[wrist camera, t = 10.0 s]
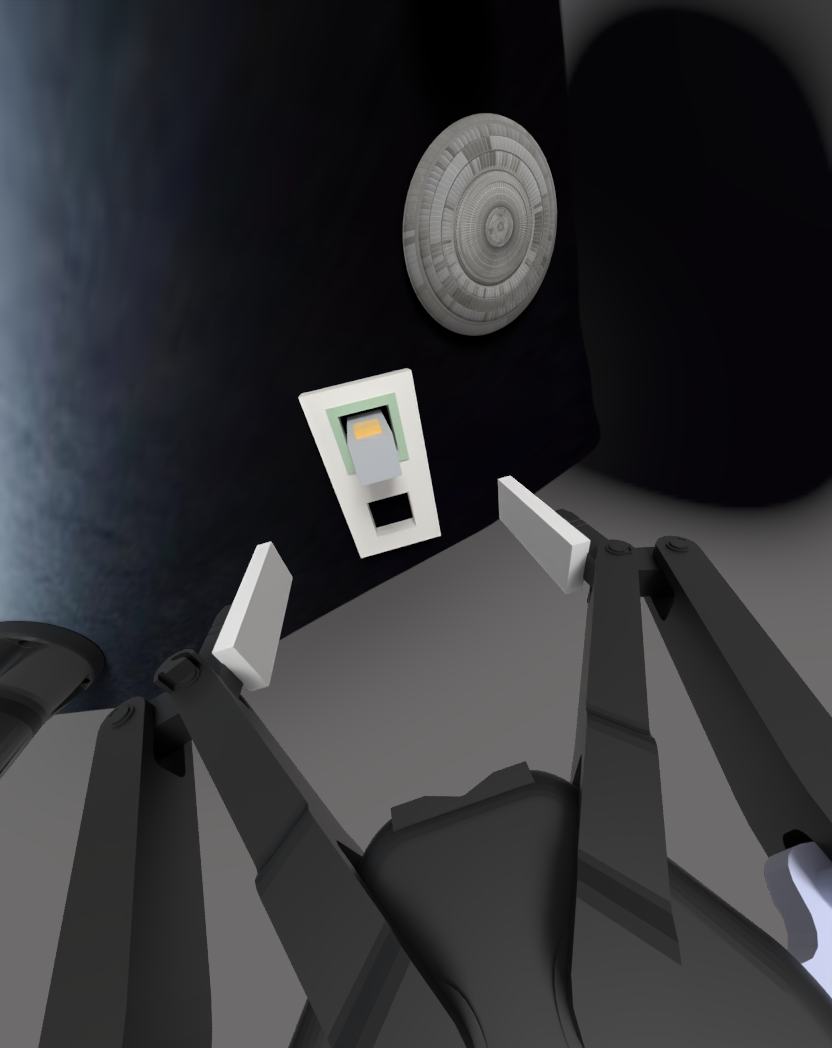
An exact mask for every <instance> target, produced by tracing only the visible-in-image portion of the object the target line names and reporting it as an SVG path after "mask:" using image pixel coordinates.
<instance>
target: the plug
mask: <svg viewBox="0 0 832 1048" xmlns="http://www.w3.org/2000/svg"><path fill="white" fill-rule="evenodd" d="M347 446H348V449H349V452H350V455H351V458H352V461H353V464H354V467H355V470H356V473H357V476H358V479H359V482H360V485H361V486H364V485H368V484H372V483H375V482H379V481H383V480H387V479H390V478H394V477H398V476H402V472H401V467H400V463H399V459H398V455H397V451H396V446H395V442H394V438H393V434H392V432H391V430H390V428H389V426H388V424H387V422H386V420H385V418H384V416H383V414H382V412H381V410H380V409H378V410H374V411H370V412H366V413H362V414H358V415H354V416H350V417H347Z"/></svg>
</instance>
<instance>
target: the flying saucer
mask: <svg viewBox="0 0 832 1048" xmlns="http://www.w3.org/2000/svg"><path fill="white" fill-rule="evenodd" d="M556 225H557V204H556V195H555V188H554V183H553V179H552V175H551V172H550V169H549V166H548V163H547V161H546V159H545V157H544V155H543V153H542V151H541V149H540V147H539V146H538V144H537V143H536V141H535V140H534V139H533V137H532V136H531V135H530V134H529V133H528V132H527V131H526V130H525V129H524V128H523V127H521V126H520V125H519V124H517V123H516V122H514V121H512V120H510V119H508V118H506V117H504V116H501V115H497V114H490V113H481V114H475V115H470V116H467V117H465V118H462V119H460V120H458V121H456V122H455V123H453V124H452V125H450V126H449V127H447V128H446V129H445V130H444V131H443V132H442V133H441V134H439V135H438V137H437V138H436V139H435V140H434V141H433V142H432V144H431V145H430V146H429V148H428V149H427V150H426V152H425V154H424V155H423V157H422V158H421V160H420V162H419V164H418V166H417V168H416V171H415V173H414V176H413V178H412V181H411V184H410V187H409V191H408V194H407V199H406V204H405V210H404V218H403V248H404V256H405V262H406V267H407V271H408V274H409V278H410V281H411V283H412V286H413V288H414V291H415V293H416V295H417V297H418V299H419V300H420V302H421V304H422V305H423V306H424V308H425V309H426V310H427V312H428V313H429V314H430V315H431V316H432V317H433V318H434V319H435V320H436V321H437V322H438V323H439V324H441V325H442V326H444V327H445V328H447V329H449V330H451V331H453V332H456V333H459V334H463V335H470V336H477V335H485V334H489V333H492V332H494V331H497V330H499V329H501V328H503V327H504V326H506V325H508V324H509V323H510V322H512V321H513V320H514V319H515V318H516V317H518V316H519V315H520V314H521V313H522V312H523V310H524V309H525V308H526V307H527V306H528V304H529V303H530V302H531V300H532V299H533V297H534V296H535V294H536V292H537V291H538V289H539V287H540V285H541V283H542V281H543V279H544V276H545V274H546V271H547V269H548V266H549V263H550V260H551V256H552V252H553V248H554V242H555V236H556Z"/></svg>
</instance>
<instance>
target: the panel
mask: <svg viewBox="0 0 832 1048" xmlns="http://www.w3.org/2000/svg"><path fill="white" fill-rule="evenodd" d="M298 398H299V401H300V403H301V406H302V408H303V411H304V413H305V416H306V419H307V421H308V424H309V426H310V429H311V431H312V434H313V436H314V439H315V442H316V444H317V447H318V449H319V452H320V454H321V457H322V460H323V462H324V465H325V467H326V470H327V472H328V475H329V477H330V480H331V483H332V485H333V488H334V490H335V493H336V495H337V498H338V500H339V503H340V506H341V508H342V511H343V513H344V516H345V518H346V521H347V523H348V526H349V529H350V531H351V534H352V536H353V539H354V541H355V544H356V546H357V549H358V552H359V554H360V557H361V558H364V557H368V556H371V555H375V554H378V553H382V552H385V551H389V550H392V549H396V548H399V547H403V546H406V545H410V544H413V543H417V542H420V541H424V540H428V539H431V538H435V537H438V536H441V533H440V527H439V522H438V516H437V511H436V505H435V500H434V494H433V488H432V483H431V477H430V472H429V466H428V461H427V455H426V450H425V444H424V439H423V433H422V427H421V422H420V416H419V411H418V405H417V400H416V394H415V389H414V383H413V378H412V372H411V370H410V369H408V368H406V369H401V370H397V371H393V372H389V373H385V374H381V375H377V376H373V377H368V378H364V379H360V380H356V381H352V382H348V383H344V384H340V385H336V386H331V387H327V388H323V389H319V390H315V391H311V392H307V393H303V394H301V395H300V396H299V397H298ZM384 405H387V410H388V414H389V418H390V422H391V427H392V431H393V435H394V439H395V443H396V451H397V455H398V459H399V463H400V467H401V472H402V476H398V477H394V478H390V479H387V480H383V481H379V482H375V483H372V484H368V485H364V486H361V485H360V482H359V479H358V476H357V473H356V470H355V467H354V464H353V461H352V458H351V455H350V452H349V449H348V446H347V437H346V434H345V431H344V428H343V425H342V422H341V419H340V416H344V415H348V414H352V413H356V412H360V411H364V410H368V409H372V408H376V407H380V406H384ZM406 492H407V494H408V498H409V503H410V507H411V511H412V515H413V518H410V519H407V520H403V521H400V522H396V523H392V524H389V525H385V526H382V527H378V528H376V526H375V523H374V520H373V517H372V513H371V510H370V507H369V504H368V503H369V502H373V501H377V500H380V499H384V498H388V497H391V496H395V495H399V494H402V493H406Z"/></svg>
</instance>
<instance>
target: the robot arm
mask: <svg viewBox="0 0 832 1048" xmlns="http://www.w3.org/2000/svg"><path fill="white" fill-rule="evenodd" d="M498 494H499V519H500V520H501V521H502V522H503V523H504V524H505V525H506V526H507V528H508V529H509V530H510V531H511V532H512V533H513V534H514V536H515V537H516V538H517V539H518V540H519V541H520V542H521V544H522V545H523V546H524V547H525V548H526V549H527V550H528V552H529V553H530V554H531V555H532V556H533V557H534V558H535V559H536V561H537V562H538V563H539V564H540V565H541V566H542V568H543V569H544V570H545V571H546V572H547V573H548V574H549V576H550V577H551V578H552V579H553V580H554V581H555V582H556V584H557V585H558V586H559V587H560V588H561V589H562V590H563V591H564V593H565V594H568V593H571V592H574V591H577V590H581V589H582V586H583V580H585V581H586V582H587V583H588V584H589V585H590V589H589V594H588V599H587V603H588V608H587V609H588V610H587V620H586V630H585V641H584V652H583V663H582V675H581V685H580V697H579V707H578V718H577V729H576V740H575V750H574V756H573V763H572V771H571V780H570V782H568V781H566V780H565V779H562V778H560V777H558V776H556V775H554V774H550V773H547V772H543V771H538V770H529V768H528V765H527V763H526V761H525V762H522V763H519V764H516V765H514V766H511V767H507V768H505V769H502V770H499V771H496V772H493V773H492V774H491V775H490V776H488V777H487V778H486V779H485V780H483V781H482V782H481V783H479V784H478V785H477V786H476V787H474V788H473V789H472V790H470V791H469V792H468V793H467V794H466V795H463V796H460V797H449V796H445V797H444V796H424V797H421V798H418V799H415V800H412V801H410V802H407V803H404V804H401V805H398V806H395V807H392V808H391V815H392V819H391V820H389V821H388V822H387V823H386V824H385V825H384V826H383V827H382V828H381V829H380V830H379V831H378V833H377V834H376V835H375V836H374V838H373V839H372V841H371V842H370V844H369V845H368V847H367V849H366V850H365V852H363V851H362V850H361V848H360V847H359V846H358V845H357V844H356V843H355V841H354V840H353V839H352V838H351V837H350V836H349V835H348V834H347V833H346V832H345V831H344V829H343V828H342V827H341V825H340V824H339V823H338V822H337V820H336V819H335V818H334V816H333V815H332V814H331V812H330V811H329V810H328V808H327V807H326V806H325V804H324V803H323V802H322V800H321V799H320V798H319V796H318V795H317V794H316V793H315V791H314V790H313V788H312V787H311V786H310V785H309V783H308V782H307V781H306V779H305V778H304V777H303V775H302V774H301V773H300V771H299V770H298V769H297V767H296V766H295V765H294V763H293V762H292V761H291V759H290V758H289V757H288V755H287V754H286V753H285V751H284V750H283V749H282V748H281V746H280V745H279V743H278V742H277V741H276V740H275V738H274V737H273V736H272V734H271V733H270V732H269V730H268V729H267V728H266V726H265V725H264V724H263V722H262V721H261V720H260V719H259V717H258V716H257V714H256V713H255V712H254V711H253V709H252V708H251V706H250V705H249V704H248V703H247V701H246V700H245V699H244V698H243V696H241V695H240V692H241V689H242V686H243V685H244V686H245V687H246V688H247V689H248V690H249V691H250V692H251V691H254V690H257V689H260V688H264V687H267V686H269V683H270V679H271V674H272V670H273V665H274V661H275V656H276V651H277V647H278V642H279V638H280V633H281V628H282V624H283V619H284V615H285V610H286V605H287V601H288V596H289V592H290V587H291V582H292V578H293V577H292V576H291V574H290V572H289V571H288V569H287V567H286V566H285V564H284V562H283V561H282V559H281V557H280V555H279V554H278V552H277V550H276V549H275V547H274V545H273V544H272V542H268V543H264V544H261V545H257V547H256V550H255V552H254V554H253V557H252V559H251V561H250V564H249V566H248V568H247V571H246V573H245V576H244V578H243V580H242V583H241V585H240V587H239V590H238V592H237V594H236V597H235V599H234V601H233V604H231V605H228V606H225V607H224V608H223V609H222V610H221V611H220V613H219V614H218V615H217V616H216V618H215V620H214V622H213V624H212V628H211V629H210V631H209V633H208V636H207V637H206V640H205V642H204V644H203V646H202V648H201V650H200V653H199V655H198V654H197V653H196V652H195V651H194V650H192V649H185V650H183V651H180V652H177V653H176V654H174V655H173V656H171V657H170V658H168V659H167V660H166V661H165V662H164V663H163V664H162V665H161V666H160V667H159V669H158V670H157V671H156V674H155V676H154V683H155V684H156V685H158V686H159V687H160V688H162V689H163V690H164V691H166V692H165V693H163V694H161V695H159V696H157V697H156V698H154V699H152V700H150V701H147V700H146V699H144V698H142V697H134V698H131V699H129V700H127V701H125V702H123V703H122V704H120V705H119V706H118V707H116V708H115V709H114V710H113V711H112V712H111V713H110V714H109V715H108V716H107V717H106V719H105V720H104V721H103V723H102V724H101V726H100V729H99V731H98V736H97V741H96V747H95V751H94V757H93V762H92V767H91V773H90V778H89V783H88V789H87V794H86V799H85V805H84V810H83V815H82V821H81V825H80V831H79V836H78V842H77V847H76V852H75V857H74V862H73V868H72V873H71V879H70V884H69V889H68V894H67V900H66V905H65V910H64V915H63V921H62V926H61V931H60V937H59V942H58V948H57V952H56V958H55V963H54V968H53V973H52V979H51V985H50V990H49V994H48V1000H47V1005H46V1011H45V1016H44V1021H43V1026H42V1031H41V1037H40V1043H39V1048H211V1045H212V1044H211V1043H212V1013H211V990H210V976H209V963H208V950H207V937H206V924H205V911H204V898H203V885H202V871H201V858H200V845H199V832H198V819H197V806H196V793H195V780H194V767H193V754H192V742H191V741H192V740H193V742H194V744H195V746H196V748H197V750H198V752H199V754H200V756H201V758H202V760H203V762H204V764H205V766H206V768H207V770H208V771H209V774H210V776H211V778H212V780H213V782H214V784H215V786H216V788H217V789H218V792H219V794H220V796H221V798H222V800H223V801H224V804H225V806H226V808H227V810H228V812H229V814H230V816H231V818H232V820H233V822H234V824H235V825H236V828H237V830H238V832H239V834H240V836H241V837H242V840H243V842H244V843H245V846H246V848H247V850H248V852H249V854H250V856H251V858H252V860H253V862H254V864H255V866H256V868H257V873H258V874H257V876H256V879H255V883H256V889H257V891H258V894H259V896H260V899H261V901H262V903H263V905H264V907H265V909H266V911H267V913H268V915H269V918H270V920H271V922H272V924H273V926H274V928H275V930H276V932H277V934H278V936H279V939H280V941H281V943H282V945H283V947H284V949H285V951H286V953H287V955H288V958H289V960H290V961H291V964H292V966H293V968H294V970H295V972H296V974H297V976H298V978H299V981H300V983H301V985H302V987H303V989H304V991H305V993H306V995H307V997H308V998H307V1000H306V1003H305V1006H304V1008H303V1011H302V1013H301V1016H300V1019H299V1021H298V1024H297V1026H296V1029H295V1032H294V1034H293V1037H292V1039H291V1043H290V1045H289V1047H288V1048H832V717H831V716H830V715H829V713H828V712H827V711H826V710H825V708H824V707H823V706H822V704H821V703H820V702H819V701H818V699H817V698H816V697H815V695H814V694H813V693H812V692H811V690H810V689H809V688H808V686H807V685H806V684H805V683H804V681H803V680H802V679H801V677H800V676H799V675H798V673H797V672H796V671H795V670H794V668H793V667H792V666H791V664H790V663H789V662H788V661H787V659H786V658H785V657H784V656H783V654H782V653H781V652H780V650H779V649H778V648H777V646H776V645H775V644H774V643H773V641H772V640H771V639H770V637H769V636H768V635H767V634H766V632H765V631H764V630H763V628H762V627H761V626H760V624H759V623H758V622H757V621H756V619H755V618H754V617H753V615H752V614H751V613H750V612H749V610H748V609H747V608H746V607H745V605H744V604H743V603H742V601H741V600H740V599H739V598H738V596H737V595H736V594H735V592H734V591H733V590H732V588H731V587H730V586H729V585H728V583H727V582H726V581H725V579H724V578H723V577H722V576H721V574H720V573H719V572H718V570H717V569H716V568H715V567H714V565H713V564H712V563H711V561H710V560H709V559H708V557H707V556H706V555H705V554H704V552H703V551H702V550H701V548H700V547H699V546H698V545H697V544H696V543H694V542H692V541H690V540H688V539H686V538H682V537H678V536H664V537H661V538H659V539H658V540H657V542H656V544H655V547H642V548H634V547H633V546H632V545H631V544H629V543H626V542H624V541H620V540H608V539H606V538H605V537H604V536H603V535H601V534H600V533H599V532H597V531H596V530H595V529H593V528H592V527H591V526H589V525H588V524H586V523H585V522H584V521H583V520H580V518H579V517H577V516H576V515H575V514H573V513H572V512H569V511H567V510H564V509H560V510H556V511H553V510H552V509H551V508H550V507H549V506H547V505H546V504H545V503H544V502H542V501H541V500H540V499H539V498H537V497H536V496H535V495H534V494H532V493H531V492H530V491H529V490H528V489H526V488H525V487H524V486H523V485H521V484H520V483H519V482H518V481H516V480H515V479H514V478H513V477H511V476H507V477H504V478H500V479H498ZM640 597H644V599H645V601H646V603H647V605H648V607H649V610H650V612H651V614H652V616H653V618H654V620H655V623H656V625H657V627H658V629H659V631H660V634H661V636H662V638H663V640H664V642H665V645H666V647H667V649H668V651H669V653H670V656H671V658H672V660H673V662H674V664H675V667H676V669H677V671H678V673H679V675H680V678H681V680H682V682H683V684H684V686H685V689H686V691H687V693H688V695H689V697H690V700H691V702H692V704H693V706H694V708H695V710H696V713H697V715H698V717H699V719H700V721H701V724H702V726H703V728H704V730H705V732H706V735H707V737H708V739H709V741H710V743H711V746H712V748H713V750H714V752H715V754H716V757H717V759H718V761H719V763H720V765H721V768H722V770H723V772H724V774H725V776H726V779H727V781H728V783H729V785H730V787H731V790H732V792H733V794H734V796H735V798H736V800H737V802H738V804H739V806H740V808H741V810H742V812H743V814H744V816H745V818H746V820H747V822H748V824H749V826H750V827H751V829H752V831H753V832H754V834H755V836H756V837H757V839H758V841H759V842H760V844H761V845H762V847H763V849H764V850H765V852H766V854H767V855H768V857H769V858H768V859H767V861H766V863H765V868H764V875H765V879H766V883H767V886H768V889H769V891H770V894H771V897H772V900H773V903H774V905H775V906H776V908H777V909H778V911H779V912H780V913H781V915H782V917H783V919H784V923H785V926H786V930H787V933H788V949H787V950H786V949H785V948H784V947H782V945H780V944H779V943H778V942H777V941H775V939H773V938H772V937H771V936H770V935H768V934H767V933H766V932H764V931H763V930H762V929H761V928H759V927H758V926H757V925H755V924H754V923H753V922H751V921H750V920H749V919H747V918H746V917H745V916H743V915H742V914H741V913H740V912H738V911H737V910H736V909H735V908H733V907H732V906H730V905H729V904H728V903H727V902H725V901H724V900H723V899H722V898H720V897H719V896H717V895H716V894H715V893H714V892H712V891H711V890H710V889H709V888H707V887H706V886H705V885H703V884H702V883H701V882H699V881H698V880H697V879H695V878H694V877H693V876H691V875H690V874H689V873H688V872H686V871H685V870H684V869H683V868H681V867H680V866H679V865H677V864H676V863H675V862H673V861H672V860H671V859H669V858H668V857H667V853H666V842H665V831H664V830H665V829H664V817H663V805H662V794H661V782H660V771H659V759H658V750H657V745H656V741H655V739H654V738H653V737H652V736H651V734H650V731H649V719H648V705H647V690H646V676H645V661H644V647H643V633H642V618H641V604H640ZM104 663H105V661H104V657H103V654H102V652H101V651H100V650H99V648H98V647H97V646H96V645H94V644H93V643H92V642H91V641H89V640H88V639H86V638H84V637H83V636H81V635H79V634H77V633H74V632H72V631H69V630H67V629H64V628H60V627H57V626H53V625H48V624H43V623H36V622H26V621H5V622H0V779H1V778H2V777H3V775H4V774H5V773H6V772H7V770H8V769H9V768H10V766H11V765H12V764H13V763H14V761H15V760H16V759H17V757H18V756H19V755H20V754H21V752H22V751H23V750H24V748H25V747H26V746H27V745H28V743H29V742H30V741H31V739H32V738H33V737H34V735H35V734H36V733H37V732H38V730H39V729H40V728H41V727H42V725H43V724H44V723H45V722H46V721H47V720H48V719H50V718H51V717H52V716H53V715H55V714H56V713H57V712H59V711H60V710H61V709H62V708H64V707H65V706H66V705H67V704H69V703H70V702H71V701H72V700H74V699H75V698H76V697H77V696H79V695H80V694H81V693H82V692H84V691H85V690H86V689H87V688H88V687H89V686H90V685H91V684H92V683H93V682H94V681H95V679H96V678H97V677H98V675H99V674H100V672H101V671H102V670H103V667H104Z"/></svg>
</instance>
